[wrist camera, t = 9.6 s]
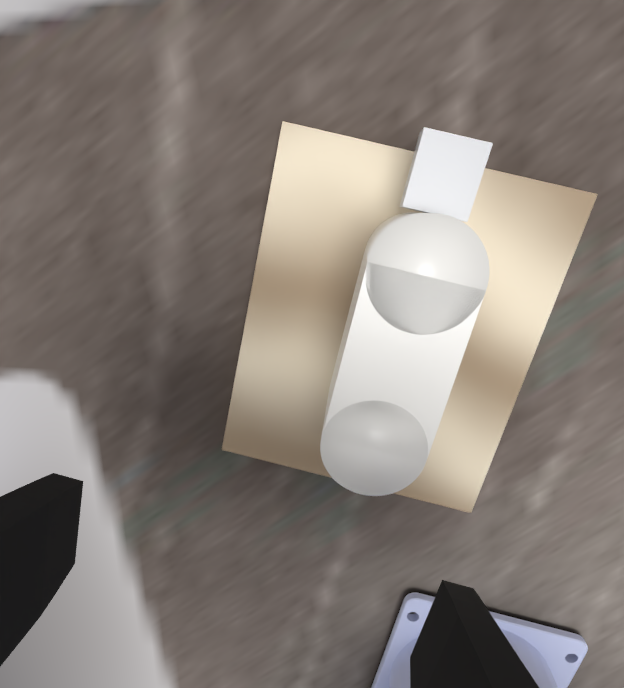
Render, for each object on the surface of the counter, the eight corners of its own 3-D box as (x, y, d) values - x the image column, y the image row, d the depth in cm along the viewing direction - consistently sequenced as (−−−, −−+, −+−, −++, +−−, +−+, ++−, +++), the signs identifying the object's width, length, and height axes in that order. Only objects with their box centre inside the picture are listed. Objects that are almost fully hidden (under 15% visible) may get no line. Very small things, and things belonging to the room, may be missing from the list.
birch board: (465, 497, 18) (470, 513, 17) (228, 437, 19) (221, 449, 18) (582, 195, 15) (597, 194, 14) (287, 126, 15) (282, 121, 14)
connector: (398, 439, 17) (410, 507, 13) (320, 420, 17) (309, 481, 13) (489, 159, 14) (538, 139, 10) (393, 136, 14) (408, 108, 10)
